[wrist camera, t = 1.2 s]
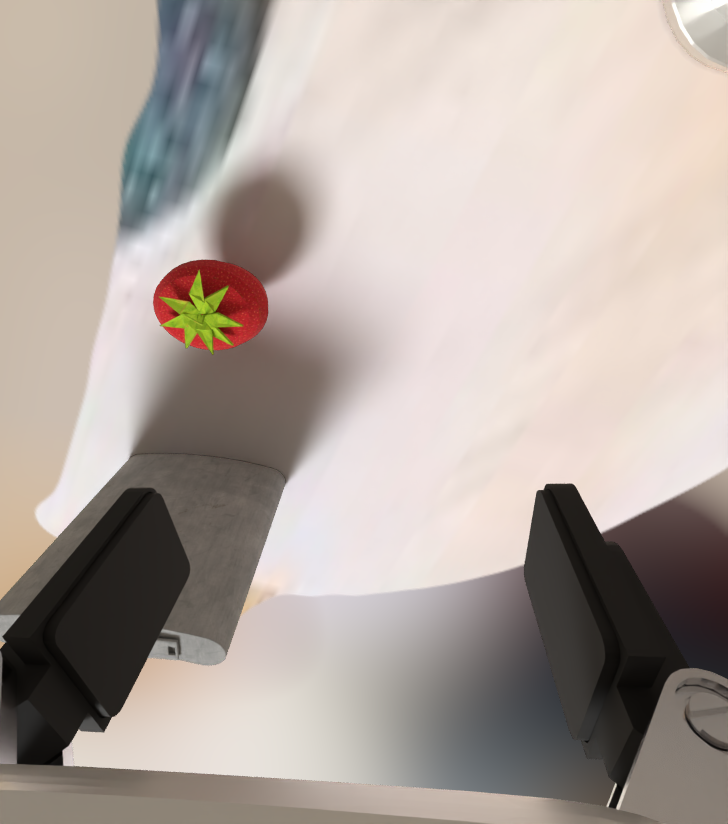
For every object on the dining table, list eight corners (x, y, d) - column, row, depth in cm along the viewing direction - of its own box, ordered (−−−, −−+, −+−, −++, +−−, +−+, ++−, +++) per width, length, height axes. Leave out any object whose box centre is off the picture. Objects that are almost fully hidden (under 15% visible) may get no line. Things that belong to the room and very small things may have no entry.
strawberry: (181, 248, 32) (103, 277, 23) (280, 244, 32) (237, 273, 23) (199, 324, 35) (135, 376, 26) (290, 322, 34) (255, 374, 26)
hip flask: (131, 478, 44) (-42, 681, 26) (123, 445, 42) (-70, 642, 24) (285, 493, 44) (214, 709, 26) (285, 461, 41) (207, 672, 24)
